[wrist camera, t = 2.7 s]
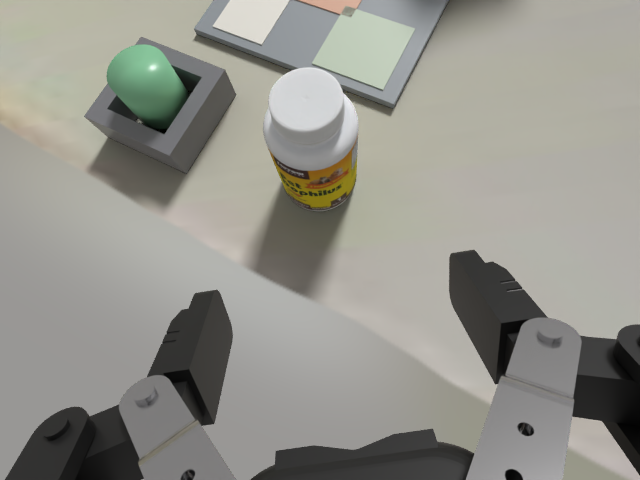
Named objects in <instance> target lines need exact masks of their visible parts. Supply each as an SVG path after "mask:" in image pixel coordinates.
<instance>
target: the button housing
mask: <svg viewBox="0 0 640 480" xmlns="http://www.w3.org/2000/svg"><path fill="white" fill-rule="evenodd" d="M142 44H145V45H151V46H154V47H156V48H158V49H159V50H161V51H162V52H163V54H164V55H165V57H166V58H167V60H168V61H169V63H170V64H171V66H172V68H173V69H174V71H175V72H176V74H177V75H178V77H179V78H180V80H181V82H182V83H183V85H184V86H185V88H186V89H187V90H189V91H192V93H191V95H190V96H189V98H188V99H187V101H186V102H185V104H184V105H183V107H182V109H181V110H180V112H179V113H178V115H177V116H176V118H175V119H174V121H173V122H172V124H171V125H170V127H169V128H168V130H167V131H166V133H165V134H162V133H160V132H158V131H155V130H153V129H151V128H149V127H146V126H144V125H142V124H140V123H137V122H135V120H136V119H137V116H136V115H135V114H134V113H133V112H132V111H131V110H130V109H129V108H128V106H127V105H126V104H125V103H124V102H123V101H122V100H121V99H120V98H119V97H118V96H117V95H116V94H115V93H114V91H113V90H112V89H111V88H110V87H109V84H107V85H106V86H105V88H104V89H103V91H102V92H101V93H100V95H99V96H98V98H97V99H96V100H95V102H94V103H93V104H92V106H91V107H90V109H89V110H88V111H87V113H86V114H85V116H84V117H85V118H86V119H88V120H89V121H90V122H91V123H92V124H93V125H94V126H96V127H97V128H98V129H99V130H100V131H101V132H103V133H104V134H105V135H106V136H107V137H109V138H111V139H113V140H115V141H117V142H120V143H122V144H124V145H126V146H128V147H130V148H132V149H135V150H137V151H139V152H141V153H143V154H145V155H147V156H150V157H152V158H154V159H156V160H158V161H160V162H163V163H165V164H167V165H169V166H171V167H173V168H175V169H178V170H180V171H182V172H184V173H186V174H187V172H188V171H189V169H190V167H191V166H192V164H193V163H194V161H195V159H196V158H197V156H198V155H199V153H200V151H201V150H202V148H203V147H204V145H205V143H206V142H207V140H208V139H209V137H210V135H211V134H212V132H213V131H214V129H215V127H216V126H217V124H218V123H219V121H220V119H221V118H222V116H223V115H224V113H225V111H226V110H227V108H228V107H229V105H230V103H231V102H232V100H233V99H234V97H235V95H236V93H235V91H234V89H233V86H232V84H231V82H230V80H229V78H228V76H227V73H226V71H225V70H224V69H222V68H219V67H217V66H214V65H212V64H209V63H207V62H204V61H202V60H199V59H196V58H194V57H191V56H189V55H186V54H184V53H181V52H179V51H176V50H174V49H171V48H169V47H166V46H164V45H161V44H158V43H156V42H153V41H151V40H148V39H146V38H143V37H141V38H140V39H139V40H138V42H137V43H136V45H142Z"/></svg>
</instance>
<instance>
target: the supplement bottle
mask: <svg viewBox="0 0 640 480" xmlns="http://www.w3.org/2000/svg"><path fill="white" fill-rule="evenodd" d="M268 105H269V108H268V109H267V112H266V114H265V118H264V123H263V133H264V138H265V141H266V144H267V146H268V149H269V151H270V154H271V156H272V159H273V161H274V164H275V166H276V169H277V171H278V173H279V176H280V178H281V181H282V183H283V185H284V188H285V190H286V192H287V194H288V196H289V197H290V198H291V200H292V201H293V202H294V203H296V204H297V205H299V206H300V207H302V208H304V209H307V210H311V211H326V210H330V209H333V208H335V207H337V206H339V205H340V204H342V203H343V202H344V201H345V200H346V199H347V198H348V197H349V196H350V194H351V193H352V191H353V189H354V186H355V182H356V170H357V150H358V117H357V113H356V110H355V108H354V106H353V104H352V102H351V101H350V99H349V98H348V97H347V96H346V95H345V94H344V93H343V91H342V88H341V86H340V84H339V82H338V81H337V80H336V78H335V77H333V76H332V75H331V74H329V73H328V72H326V71H324V70H321V69H318V68H310V67H308V68H298V69H295V70H292V71H290V72H288V73H286V74H285V75H283V76H282V77H281V78H280V79H278V80H277V81H276V83H275V84H274V86H273V87H272V89H271V92H270V94H269V101H268Z"/></svg>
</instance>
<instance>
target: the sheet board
mask: <svg viewBox="0 0 640 480" xmlns="http://www.w3.org/2000/svg"><path fill="white" fill-rule="evenodd" d="M448 1H449V0H213V2H212V3H211V5H210V6H209V8H208V9H207V10H206V12H205V13H204V15H203V16H202V18H201V19H200V21H199V22H198V24H197V25H196V26H195V28H194V30H195V32H196V34H198V35H201V36H203V37H206V38H209V39H211V40H214V41H216V42H219V43H222V44H224V45H227V46H230V47H232V48H235V49H238V50H240V51H243V52H245V53H248V54H251V55H253V56H256V57H259V58H261V59H264V60H266V61H269V62H272V63H274V64H277V65H280V66H282V67H285V68H287V69H290V70H295V69H298V68H308V67H310V68H318V69H321V70H324V71H326V72H328V73H329V74H331V75H332V76H333V77H335V78H336V80H337V81H338V82H339V84H340V86H341V88H342V89H343V90H345V91H348V92H351V93H353V94H356V95H359V96H361V97H364V98H366V99H369V100H372V101H374V102H377V103H380V104H382V105H385V106H387V107H390V108H394V106H395V104H396V102H397V100H398V98H399V97H400V95H401V93H402V91H403V89H404V87H405V85H406V83H407V81H408V79H409V77H410V75H411V73H412V71H413V69H414V67H415V65H416V64H417V62H418V60H419V58H420V56H421V54H422V52H423V50H424V48H425V46H426V44H427V42H428V40H429V38H430V36H431V34H432V32H433V30H434V29H435V27H436V25H437V23H438V21H439V19H440V17H441V15H442V13H443V11H444V9H445V7H446V5H447V3H448Z"/></svg>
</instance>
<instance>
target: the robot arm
mask: <svg viewBox="0 0 640 480" xmlns="http://www.w3.org/2000/svg"><path fill="white" fill-rule="evenodd" d="M449 292H450V299H451V302H452V305H453V308H454V310H455V312H456V313H457V315H458V317H459V319H460V321H461V322H462V324H463V326H464V328H465V330H466V332H467V333H468V335H469V337H470V339H471V341H472V343H473V344H474V346H475V348H476V350H477V352H478V354H479V355H480V357H481V359H482V361H483V363H484V364H485V366H486V368H487V370H488V372H489V374H490V375H491V377H492V379H493V381H494V383H495V384H498V386H497V389H496V392H495V395H494V398H493V401H492V404H491V407H490V410H489V413H488V416H487V418H486V421H485V425H484V427H483V430H482V433H481V437H480V439H479V442H478V445H477V448H476V451H475V454H474V453H472V452H470V451H468V450H466V449H464V448H461V447H459V446H456V445H452V444H448V443H444V442H437V440H436V437H435V434H434V431H433V429H428V430H421V431H413V432H407V433H399V434H393V435H391V436H389V437H386V438H384V439H381V440H379V441H376V442H374V443H372V444H369V445H367V446H364V447H362V448H360V449H356V450H348V449H339V448H330V447H322V446H308V447H301V448H293V449H286V450H279V451H276V457H275V465H273V466H271V467H269V468H267V469H265V470H263V471H262V472H260V473H259V474H257V475H256V476H254V477H253V478H252V479H251V480H563V473H564V466H565V460H566V453H567V447H568V440H569V433H570V427H571V420H572V416H573V417H579V418H586V419H593V420H600V421H602V422H603V423H604V424H605V426H606V427H607V429H608V430H609V432H610V433H611V435H612V436H613V437H614V439H615V440H616V442H617V443H618V445H619V446H620V448H621V449H622V450H623V452H624V453H625V455H626V456H627V458H628V459H629V461H630V462H631V463H632V465H633V466H634V468H635V469H636V471H637V472H638V474H639V475H640V325H629V326H626V327H624V328H622V329H621V330H620V331H619V333H618V336H617V339H606V338H594V337H585V336H580V335H579V334H578V332H577V331H576V330H575V329H574V328H572V327H571V326H569V325H568V324H566V323H564V322H562V321H559V320H556V319H551V318H548V317H547V316H546V315H545V314H544V313H543V312H542V310H541V309H540V308H539V307H538V306H537V305H536V303H535V302H534V301H533V300H532V299H531V297H530V296H529V295H528V294H527V293H526V292H525V290H522V287H521V286H520V285H519V283H518V282H517V281H515V279H514V278H513V276H512V275H511V274H510V273H509V272H508V271H507V269H505V268H503V267H501V266H500V265H498V264H496V263H494V262H488V263H485V262H484V261H483V260H482V259H481V257H480V256H479V255H478V253H477V252H476V251H475V250H469V251H463V252H457V253H451V255H450V263H449ZM232 338H233V335H232V326H231V322H230V320H229V317H228V314H227V311H226V309H225V306H224V303H223V300H222V297H221V294H220V293H219V291H218V290H213V291H206V292H200V293H195V294H194V296H193V299H192V301H191V304H190V306H189V309H184V310H181V311H180V313H179V314H178V315H177V316H176V317H175V318H174V319H173V320H172V321H171V323H170V326H169V328H168V330H167V335H165V337H164V339H163V344H161V346H160V348H159V351H158V353H157V355H156V358H155V360H154V362H153V364H152V367H151V369H150V371H149V374H148V376H147V378H144V379H142V380H140V381H138V382H137V383H135V384H134V385H133V386H131V387H130V388H129V389H128V390H127V391H126V393H125V394H124V395H123V397H122V398H121V401H120V404H119V405H117V406H114V407H112V408H110V409H107V410H105V411H103V412H100V413H97V414H95V415H93V416H89V415H88V414H87V412H86V411H85V410H84V409H83V408H80V407H70V408H66V409H64V410H61V411H59V412H57V413H55V414H54V415H52V416H50V417H49V418H48V419H46V420H45V421H44V422H43V423H42V424H41V425H40V426H39V427H38V428H37V429H36V430H35V431H34V433H33V434H32V436H31V438H30V439H29V441H28V442H27V444H26V446H25V448H24V449H23V451H22V452H21V454H20V456H19V457H18V459H17V461H16V462H15V464H14V466H13V467H12V469H11V471H10V473H9V474H8V476H7V477H6V479H5V480H141V479H145V480H236V479H235V477H234V475H233V474H232V472H231V471H230V469H229V468H228V466H227V465H226V463H225V462H224V460H223V458H222V457H221V455H220V454H219V452H218V451H217V449H216V448H215V447H214V445H213V443H212V442H211V440H210V438H209V437H208V435H207V434H206V432H205V431H204V429H203V428H202V426H203V425H210V424H214V422H215V418H216V414H217V409H218V404H219V400H220V395H221V391H222V386H223V381H224V377H225V372H226V368H227V363H228V358H229V354H230V349H231V345H232Z"/></svg>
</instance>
